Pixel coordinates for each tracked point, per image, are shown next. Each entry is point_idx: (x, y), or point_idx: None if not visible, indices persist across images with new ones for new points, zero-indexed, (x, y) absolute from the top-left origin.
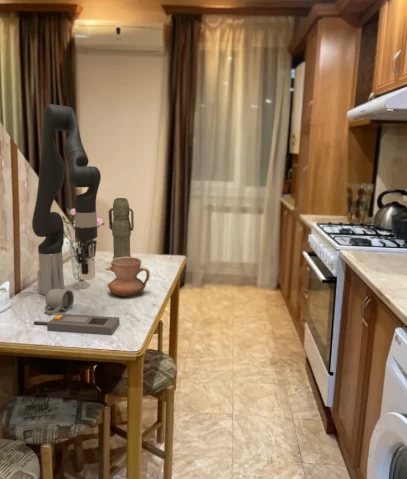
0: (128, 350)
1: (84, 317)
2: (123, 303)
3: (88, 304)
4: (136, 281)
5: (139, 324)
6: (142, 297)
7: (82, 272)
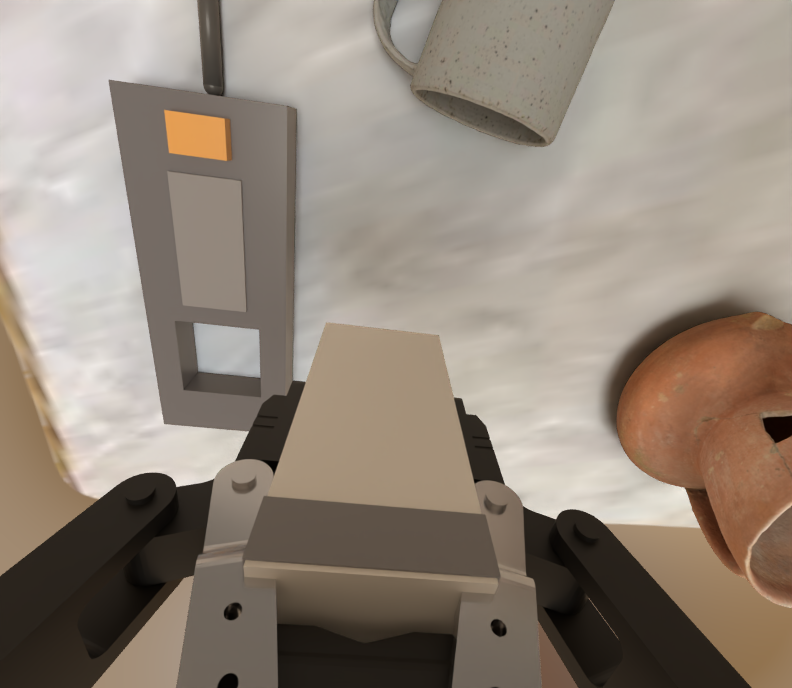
0: (73, 472)
1: (253, 286)
2: (542, 392)
3: (551, 226)
4: (695, 481)
5: None
6: (611, 453)
7: (270, 400)
